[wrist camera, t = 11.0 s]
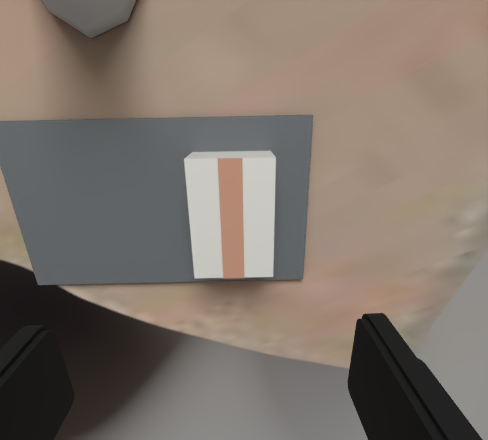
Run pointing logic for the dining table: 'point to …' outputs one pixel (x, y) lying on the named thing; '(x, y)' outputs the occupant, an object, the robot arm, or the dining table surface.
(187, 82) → the dining table surface
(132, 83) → the dining table surface
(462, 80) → the dining table surface
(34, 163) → the mat
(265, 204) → the card deck
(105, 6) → the flask
